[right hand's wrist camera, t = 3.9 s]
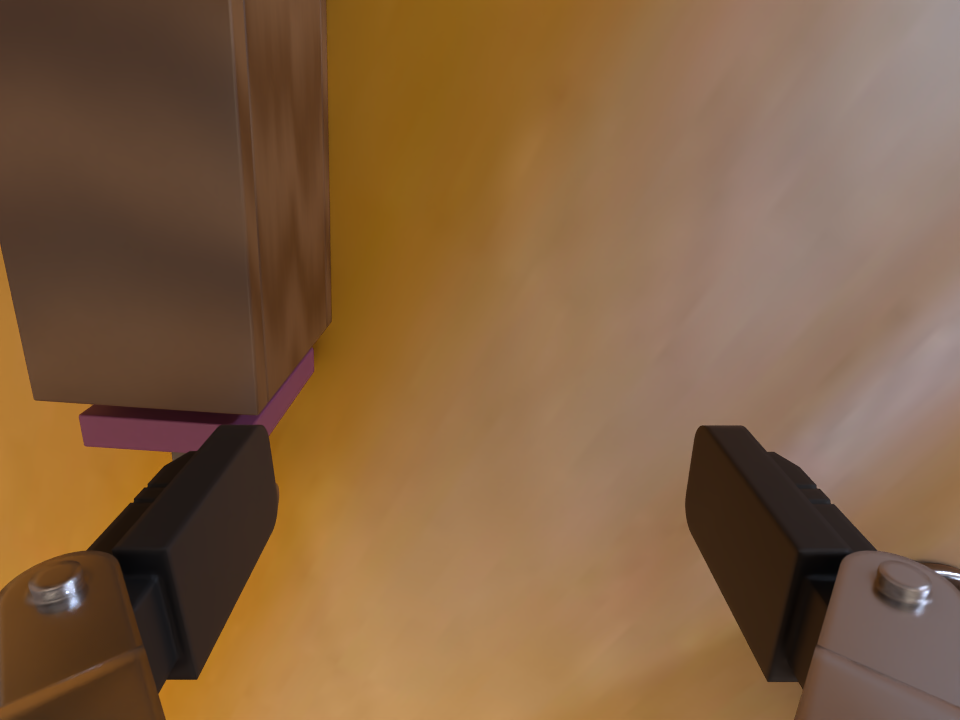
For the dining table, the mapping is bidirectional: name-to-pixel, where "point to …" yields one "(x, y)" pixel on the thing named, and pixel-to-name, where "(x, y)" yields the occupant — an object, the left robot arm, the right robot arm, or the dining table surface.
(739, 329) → the dining table surface
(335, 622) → the dining table surface
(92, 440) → the drawer
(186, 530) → the right robot arm
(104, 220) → the cabinet
